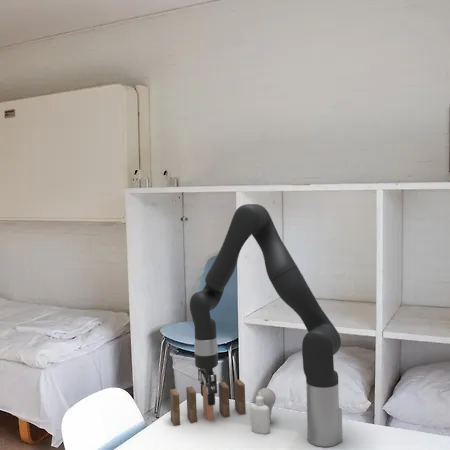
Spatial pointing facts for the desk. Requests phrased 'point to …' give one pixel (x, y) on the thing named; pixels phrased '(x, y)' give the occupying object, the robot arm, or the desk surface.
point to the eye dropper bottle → (260, 416)
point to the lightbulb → (268, 398)
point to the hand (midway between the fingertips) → (207, 400)
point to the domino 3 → (206, 408)
